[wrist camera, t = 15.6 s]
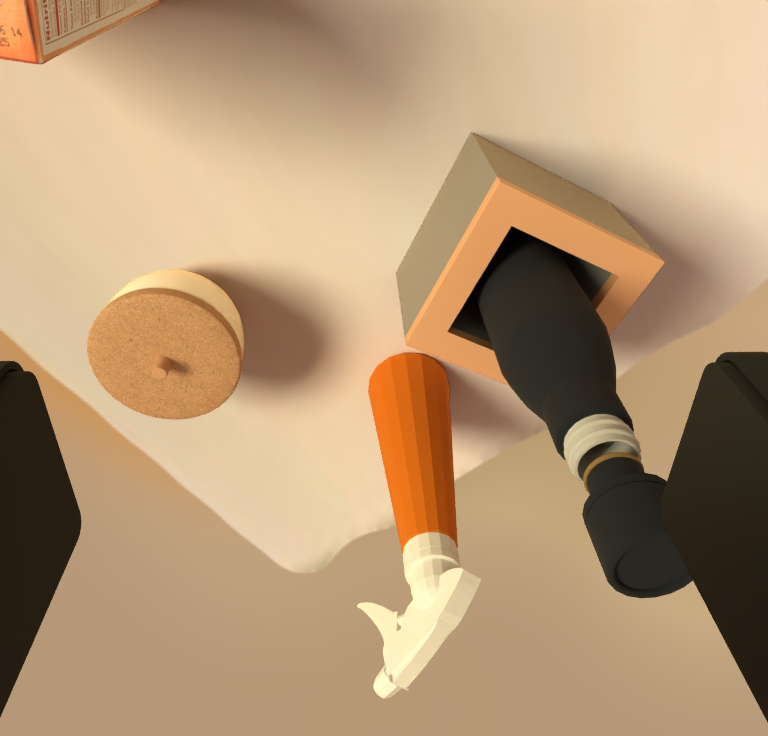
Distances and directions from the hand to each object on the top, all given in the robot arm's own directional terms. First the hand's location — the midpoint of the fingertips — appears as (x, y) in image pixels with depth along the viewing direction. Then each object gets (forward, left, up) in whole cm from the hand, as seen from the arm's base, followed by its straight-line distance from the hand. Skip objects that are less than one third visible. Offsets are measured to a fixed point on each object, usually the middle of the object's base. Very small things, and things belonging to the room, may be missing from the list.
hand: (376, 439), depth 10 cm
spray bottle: (+25, +15, -42) cm, 51 cm away
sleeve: (+8, +16, -41) cm, 45 cm away
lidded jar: (+24, -4, -42) cm, 48 cm away
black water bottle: (+8, +16, -40) cm, 43 cm away
